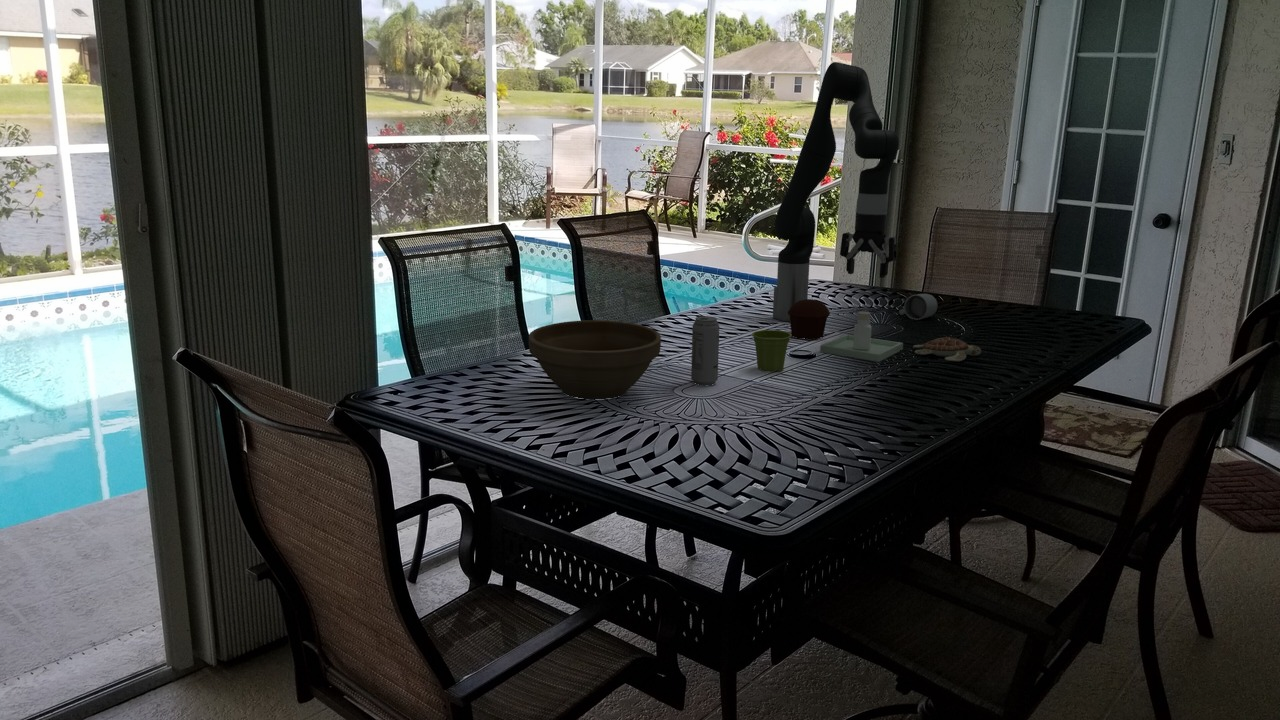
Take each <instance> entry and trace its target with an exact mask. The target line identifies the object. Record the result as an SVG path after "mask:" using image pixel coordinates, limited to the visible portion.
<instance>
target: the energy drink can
mask: <svg viewBox="0 0 1280 720" xmlns="http://www.w3.org/2000/svg"><path fill="white" fill-rule="evenodd" d="M691 331H692V332H691V333H692V335H691V337H692V339H691V340H692V341H691V342H692V343H691V373H690V375H691V376H690V379H691V380H692V382H693V384H694V383H696V384H699V385H698V386H700V385H711V386H713V385H712V384H714V383H715V384H716V382H717V381H718V379H719V378H718V377H719V354H720V352H719V351H720V325H719V322H718V318H717V317H714V316H711V315H709V316H708V315H707V316H706V315H704V316H703V315H702V316H696V317H695V321H694V322H693V324H692V330H691ZM696 384H695V385H696ZM715 384H714V385H715Z"/></svg>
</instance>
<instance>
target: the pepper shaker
mask: <svg viewBox="0 0 1280 720" xmlns="http://www.w3.org/2000/svg"><path fill="white" fill-rule="evenodd" d="M856 320H857V321H856V322H857V323H855V324H854V330H853V331H854V332H853V335H854V341H853V345H854V348H855V349H856V350H869V349H870V343H871V338H872V325H871V324H870V320H871V312H869V311H857V317H856Z"/></svg>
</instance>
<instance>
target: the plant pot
mask: <svg viewBox="0 0 1280 720" xmlns="http://www.w3.org/2000/svg"><path fill="white" fill-rule="evenodd" d="M751 336H752V337H753V341H754V344H755V351H756V353H755V354H756V362H757V363H756V364H757V369H758V370H760V371H762V372H768V373H775V372H776V371H778V372H781V371H783V370H784V368H785V367H784V366H785V360H786V355H787V349H788V345H789V343H790V339H791V338H792V337H793V336H792V335H791V332H787V331H783V330H775V329H774V330H773V329H767V330H766V329H762V330H756V331H754V332H752V333H751Z"/></svg>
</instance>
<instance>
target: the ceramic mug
mask: <svg viewBox="0 0 1280 720" xmlns="http://www.w3.org/2000/svg"><path fill="white" fill-rule="evenodd" d="M937 309H938V300H937V299H936V298H935V297H934V296H933V295H932V294H929V293H916V294H912V295H910V296H908V297H907V298H906V300H905V302H904V306H903V308H902V309H899V312H898V313H899V315H900V316H903V315H904V314H905V315H906V316H907V318H909V319H910V320H913V319H914V320H915V321H920V320H923V319H926V318H929V317H932V316H933V315H934V314H936V312H937ZM914 320H913V321H914Z"/></svg>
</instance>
